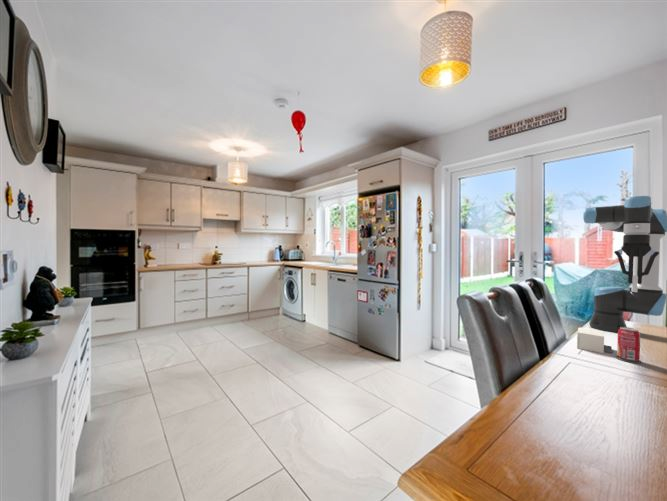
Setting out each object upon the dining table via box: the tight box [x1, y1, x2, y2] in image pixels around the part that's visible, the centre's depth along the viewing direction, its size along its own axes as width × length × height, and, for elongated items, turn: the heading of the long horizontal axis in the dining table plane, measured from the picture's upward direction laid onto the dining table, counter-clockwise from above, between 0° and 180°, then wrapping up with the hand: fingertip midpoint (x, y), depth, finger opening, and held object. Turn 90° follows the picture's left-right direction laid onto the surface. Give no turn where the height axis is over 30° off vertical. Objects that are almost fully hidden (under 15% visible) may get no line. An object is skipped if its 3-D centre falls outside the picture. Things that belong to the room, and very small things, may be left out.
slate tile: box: [604, 344, 613, 354], centre depth 126 cm, size 6×9×2 cm, turn 48°
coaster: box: [615, 355, 642, 364], centre depth 114 cm, size 7×7×1 cm
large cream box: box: [576, 327, 605, 354], centre depth 128 cm, size 8×11×7 cm
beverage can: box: [616, 326, 641, 361], centre depth 114 cm, size 6×6×12 cm
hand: (634, 291), depth 119 cm, fingers closed
